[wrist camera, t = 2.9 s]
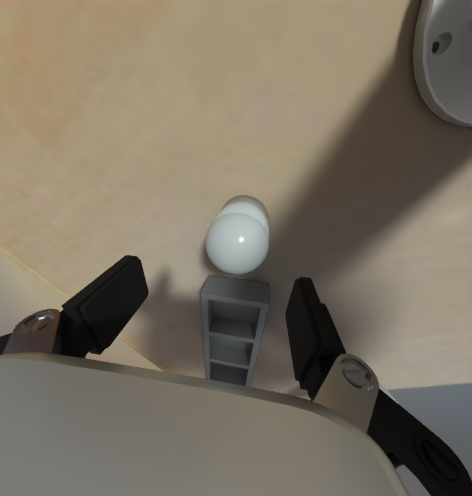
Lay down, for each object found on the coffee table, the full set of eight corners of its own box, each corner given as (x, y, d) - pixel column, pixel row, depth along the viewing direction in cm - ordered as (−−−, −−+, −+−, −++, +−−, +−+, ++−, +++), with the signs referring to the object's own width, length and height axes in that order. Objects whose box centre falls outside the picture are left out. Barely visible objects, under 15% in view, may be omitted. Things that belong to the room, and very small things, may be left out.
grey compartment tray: (208, 274, 23) (200, 293, 20) (269, 283, 22) (269, 304, 19) (210, 361, 34) (205, 380, 31) (250, 368, 33) (249, 389, 30)
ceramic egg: (220, 192, 17) (193, 221, 11) (272, 198, 17) (276, 231, 10) (220, 237, 20) (197, 282, 13) (264, 243, 19) (263, 293, 13)
